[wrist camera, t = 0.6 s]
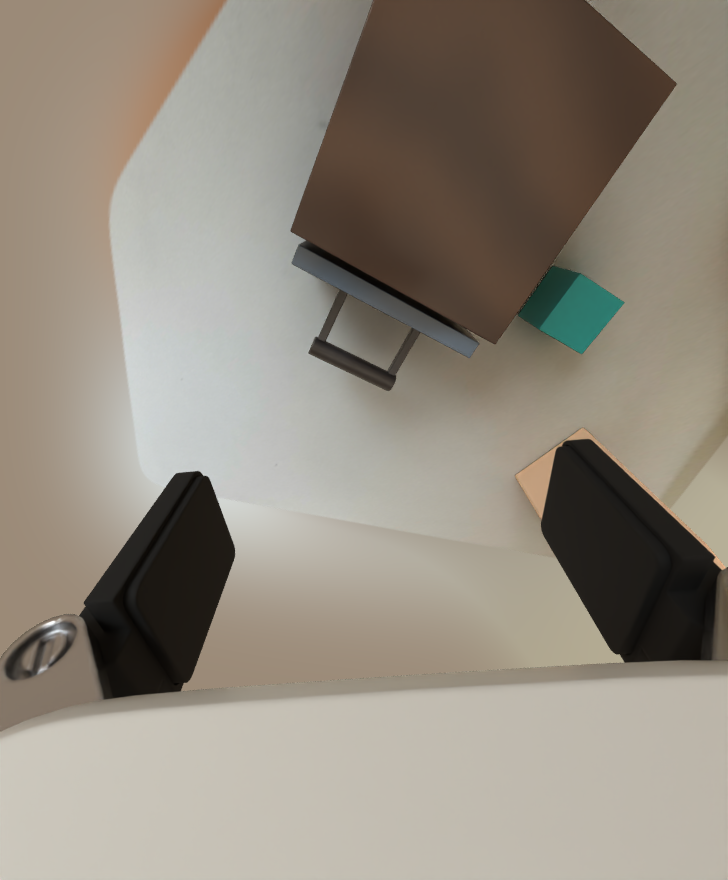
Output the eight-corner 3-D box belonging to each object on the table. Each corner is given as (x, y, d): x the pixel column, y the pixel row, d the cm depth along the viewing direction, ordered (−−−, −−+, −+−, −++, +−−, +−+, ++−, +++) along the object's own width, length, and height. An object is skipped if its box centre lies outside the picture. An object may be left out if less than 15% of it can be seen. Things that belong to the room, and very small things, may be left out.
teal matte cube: (517, 315, 33) (538, 329, 29) (552, 265, 31) (580, 273, 27) (556, 338, 34) (582, 354, 30) (592, 291, 32) (625, 302, 28)
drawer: (414, 384, 35) (426, 422, 29) (279, 319, 32) (260, 345, 26) (554, 159, 27) (615, 143, 20) (388, 36, 23) (400, -29, 17)
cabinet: (462, 313, 33) (495, 345, 25) (307, 226, 29) (290, 231, 21) (582, 121, 26) (677, 83, 18) (401, -23, 23) (425, -146, 15)
